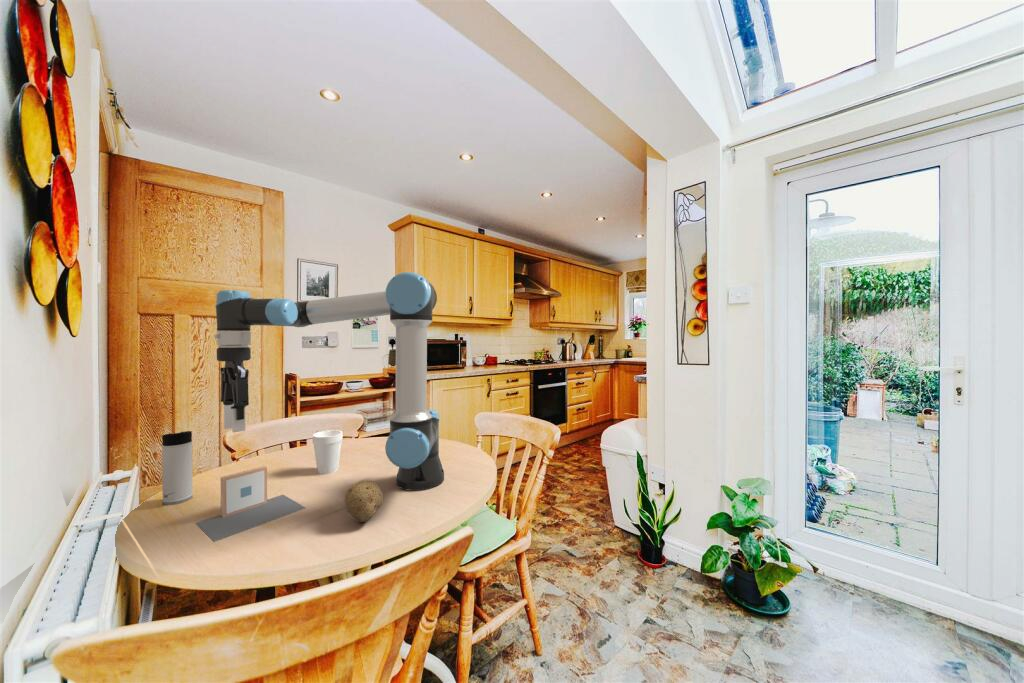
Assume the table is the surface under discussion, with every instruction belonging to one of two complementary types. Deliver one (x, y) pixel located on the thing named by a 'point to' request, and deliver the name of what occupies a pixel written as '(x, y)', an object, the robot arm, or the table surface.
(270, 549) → the table surface
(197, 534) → the table surface
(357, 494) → the natural sponge
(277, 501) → the felt mat
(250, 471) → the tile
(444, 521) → the table surface
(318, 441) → the foam cup
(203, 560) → the table surface
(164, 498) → the travel mug
